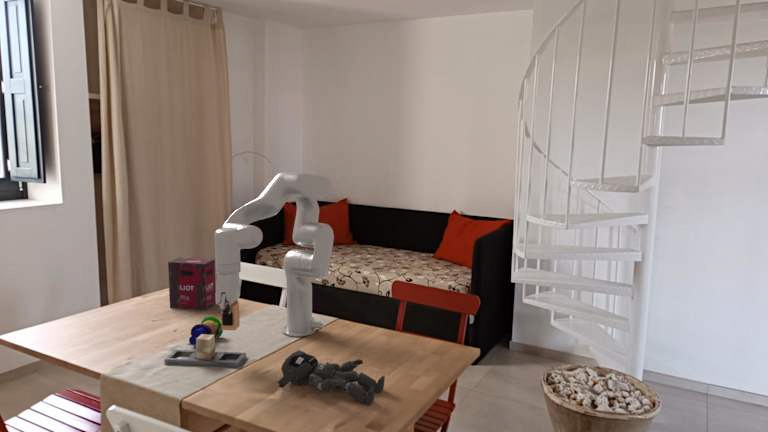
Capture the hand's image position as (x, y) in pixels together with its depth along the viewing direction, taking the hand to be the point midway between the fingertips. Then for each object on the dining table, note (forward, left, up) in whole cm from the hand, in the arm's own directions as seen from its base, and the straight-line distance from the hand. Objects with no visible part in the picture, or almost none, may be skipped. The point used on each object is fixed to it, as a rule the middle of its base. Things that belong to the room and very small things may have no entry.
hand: (230, 321), depth 177 cm
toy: (+15, -17, -15) cm, 27 cm away
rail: (+8, 0, -14) cm, 17 cm away
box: (+37, -58, -15) cm, 70 cm away
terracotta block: (0, 0, -2) cm, 2 cm away
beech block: (+8, 0, -13) cm, 16 cm away
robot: (-35, +13, -15) cm, 40 cm away
